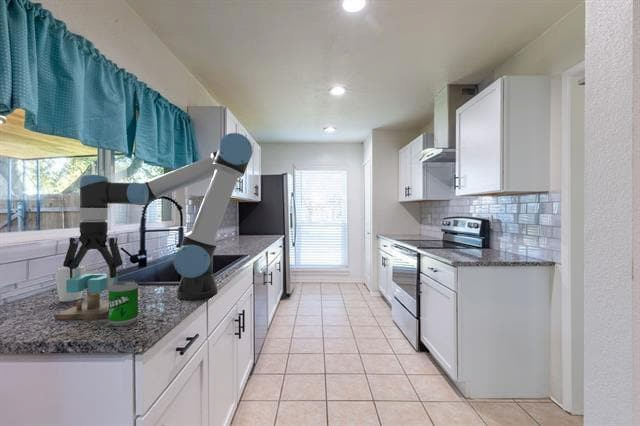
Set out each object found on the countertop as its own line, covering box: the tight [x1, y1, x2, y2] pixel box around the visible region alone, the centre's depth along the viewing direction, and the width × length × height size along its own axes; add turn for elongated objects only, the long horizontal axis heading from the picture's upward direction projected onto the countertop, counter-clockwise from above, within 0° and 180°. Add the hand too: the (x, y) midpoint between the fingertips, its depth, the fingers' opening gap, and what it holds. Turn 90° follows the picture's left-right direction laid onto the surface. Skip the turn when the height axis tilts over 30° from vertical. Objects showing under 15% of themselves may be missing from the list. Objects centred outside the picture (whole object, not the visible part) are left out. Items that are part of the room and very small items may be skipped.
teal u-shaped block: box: [66, 273, 119, 293], centre depth 103 cm, size 10×10×4 cm
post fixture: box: [54, 281, 109, 320], centre depth 103 cm, size 14×14×10 cm
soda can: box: [107, 280, 139, 327], centre depth 93 cm, size 8×8×12 cm
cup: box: [54, 265, 87, 303], centre depth 117 cm, size 9×9×12 cm
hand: (93, 287), depth 103 cm, fingers closed on teal u-shaped block, 10 cm apart
